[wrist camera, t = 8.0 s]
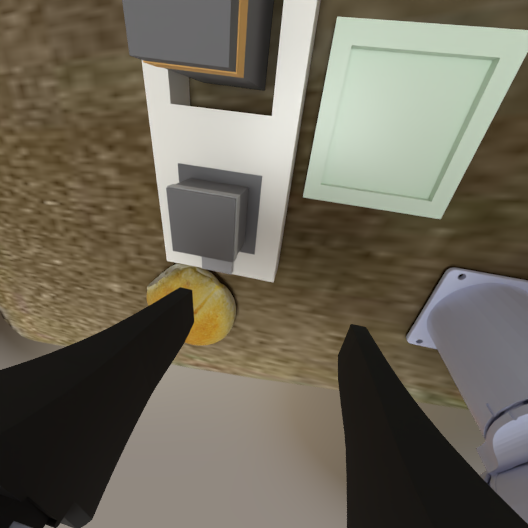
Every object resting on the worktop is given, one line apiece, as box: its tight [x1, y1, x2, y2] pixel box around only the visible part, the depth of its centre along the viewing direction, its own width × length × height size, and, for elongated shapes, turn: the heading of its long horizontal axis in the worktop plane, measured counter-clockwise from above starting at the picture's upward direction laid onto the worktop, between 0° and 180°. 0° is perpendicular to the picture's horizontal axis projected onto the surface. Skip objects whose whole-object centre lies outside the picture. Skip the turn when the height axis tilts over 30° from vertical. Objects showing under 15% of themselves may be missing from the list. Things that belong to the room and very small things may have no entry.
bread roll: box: [147, 263, 236, 345], centre depth 23 cm, size 8×9×4 cm
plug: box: [122, 0, 274, 91], centre depth 11 cm, size 4×4×7 cm
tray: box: [303, 17, 528, 219], centre depth 14 cm, size 9×9×1 cm
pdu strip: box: [142, 0, 321, 282], centre depth 14 cm, size 9×18×6 cm, turn 174°
